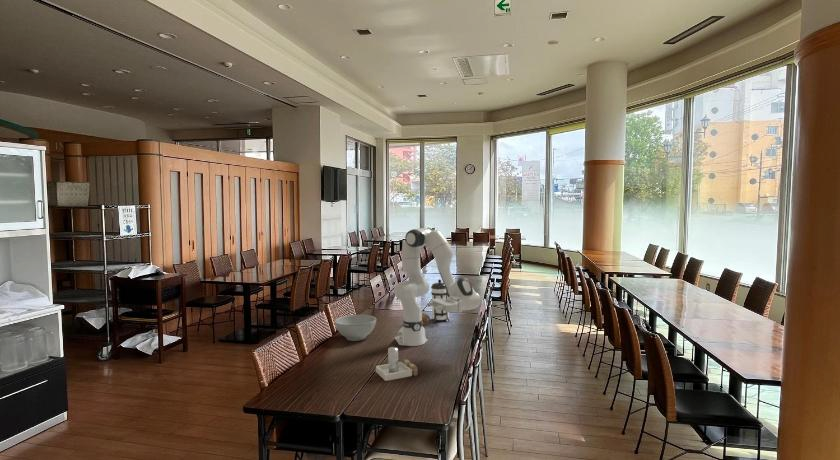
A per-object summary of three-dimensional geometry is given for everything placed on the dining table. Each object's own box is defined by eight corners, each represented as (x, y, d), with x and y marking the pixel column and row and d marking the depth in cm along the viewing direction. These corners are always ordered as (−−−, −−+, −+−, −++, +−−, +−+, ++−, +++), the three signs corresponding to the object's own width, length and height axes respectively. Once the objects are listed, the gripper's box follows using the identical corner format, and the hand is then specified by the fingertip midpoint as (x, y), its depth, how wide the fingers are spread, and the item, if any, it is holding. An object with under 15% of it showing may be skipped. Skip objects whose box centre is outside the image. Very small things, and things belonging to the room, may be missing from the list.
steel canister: (387, 371, 234) (386, 347, 233) (396, 369, 236) (395, 346, 235) (390, 374, 229) (390, 350, 229) (400, 372, 231) (399, 349, 231)
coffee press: (425, 320, 338) (424, 280, 336) (440, 316, 349) (439, 277, 347) (442, 324, 326) (441, 282, 324) (457, 320, 337) (456, 279, 335)
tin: (409, 327, 321) (409, 315, 320) (408, 326, 324) (408, 314, 323) (430, 325, 325) (429, 313, 324) (428, 324, 328) (428, 312, 327)
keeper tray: (375, 371, 236) (375, 366, 236) (401, 367, 242) (401, 361, 242) (385, 381, 224) (385, 375, 223) (412, 375, 229) (411, 370, 229)
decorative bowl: (382, 333, 307) (382, 315, 307) (367, 345, 282) (367, 325, 281) (345, 331, 315) (345, 313, 314) (327, 343, 289) (327, 323, 288)
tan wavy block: (403, 366, 242) (402, 359, 242) (406, 366, 243) (406, 358, 243) (413, 375, 230) (413, 367, 230) (417, 374, 231) (417, 367, 230)
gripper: (444, 294, 263) (422, 297, 257) (462, 301, 244) (439, 304, 239) (444, 305, 263) (422, 308, 258) (462, 313, 245) (439, 316, 239)
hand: (430, 306), depth 248 cm, fingers open, 8 cm apart
